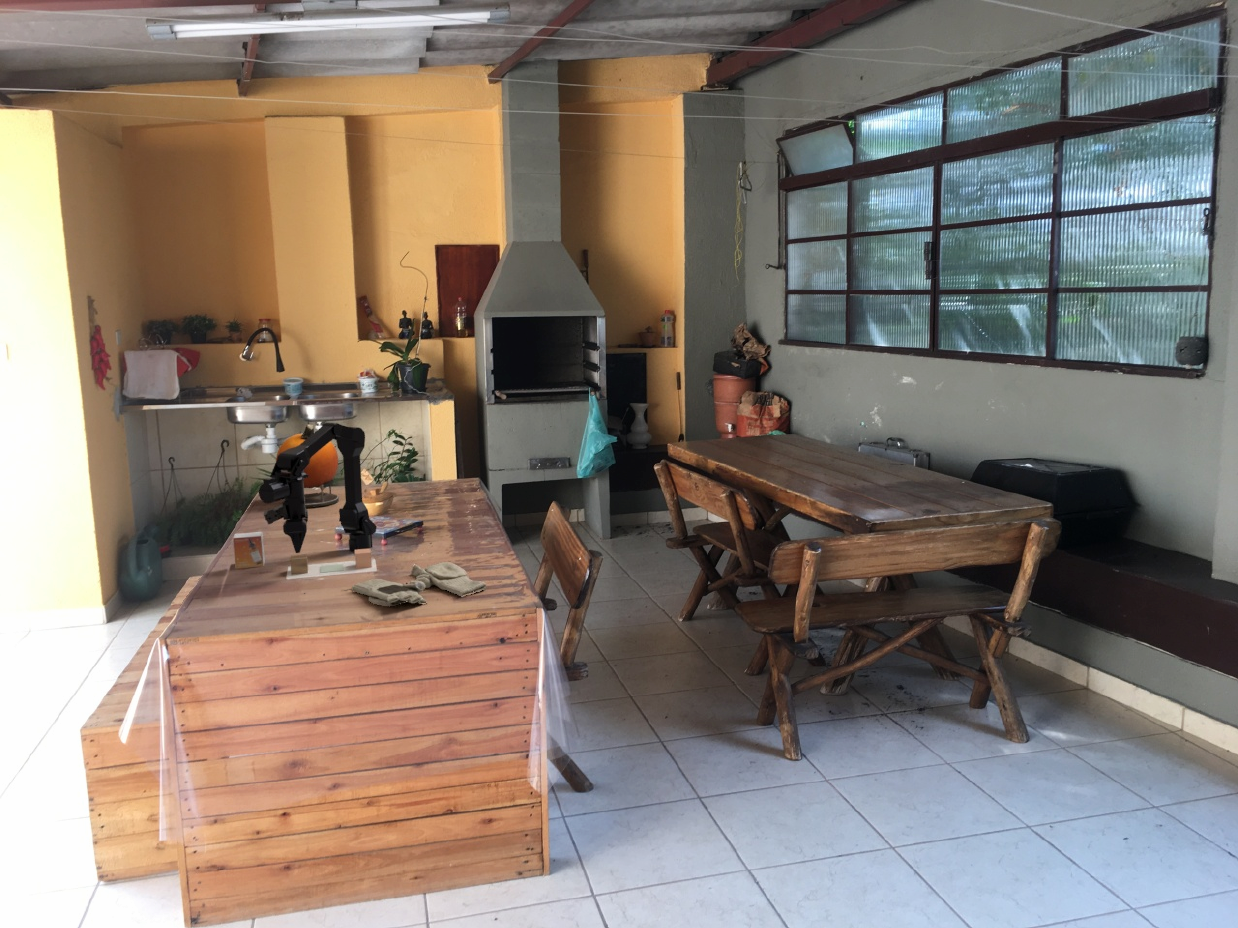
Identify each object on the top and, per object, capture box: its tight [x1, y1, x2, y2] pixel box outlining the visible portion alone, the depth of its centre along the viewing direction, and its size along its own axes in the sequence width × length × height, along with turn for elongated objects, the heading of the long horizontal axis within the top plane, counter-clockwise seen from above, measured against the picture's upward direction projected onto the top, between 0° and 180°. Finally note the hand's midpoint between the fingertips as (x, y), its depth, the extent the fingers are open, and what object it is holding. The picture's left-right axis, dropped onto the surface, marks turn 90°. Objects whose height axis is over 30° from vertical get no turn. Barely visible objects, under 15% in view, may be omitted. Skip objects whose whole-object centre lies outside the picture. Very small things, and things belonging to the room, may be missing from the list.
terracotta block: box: [354, 549, 372, 569], centre depth 301 cm, size 4×4×4 cm
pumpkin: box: [275, 424, 340, 509], centre depth 386 cm, size 22×22×30 cm
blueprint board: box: [285, 558, 378, 580], centre depth 300 cm, size 25×13×1 cm, turn 105°
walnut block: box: [289, 553, 309, 575], centre depth 297 cm, size 4×4×4 cm
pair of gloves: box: [351, 561, 487, 608], centre depth 282 cm, size 30×26×5 cm
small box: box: [232, 531, 265, 570], centre depth 304 cm, size 8×6×10 cm
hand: (298, 548), depth 296 cm, fingers open, 9 cm apart
